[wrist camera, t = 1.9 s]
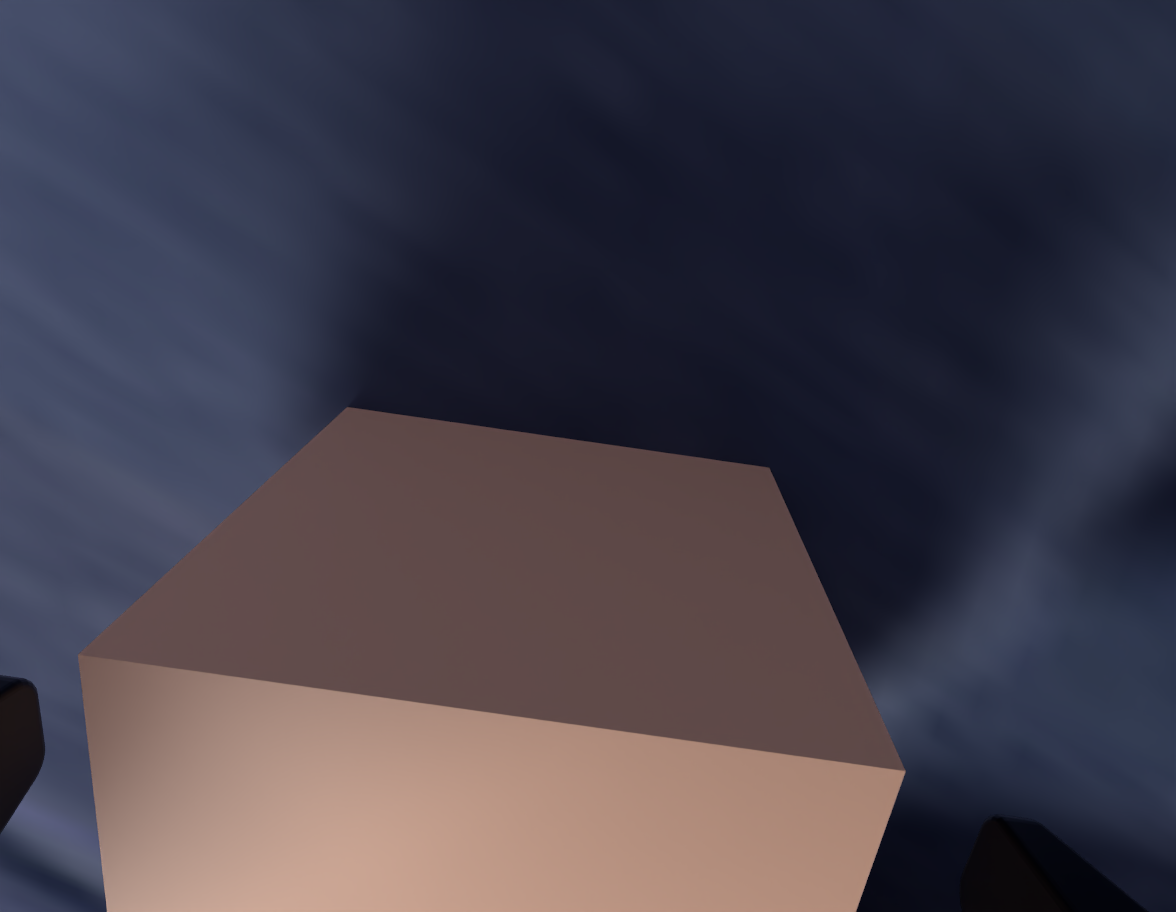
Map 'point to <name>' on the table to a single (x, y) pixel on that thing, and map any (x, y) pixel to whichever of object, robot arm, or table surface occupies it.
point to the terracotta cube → (487, 692)
